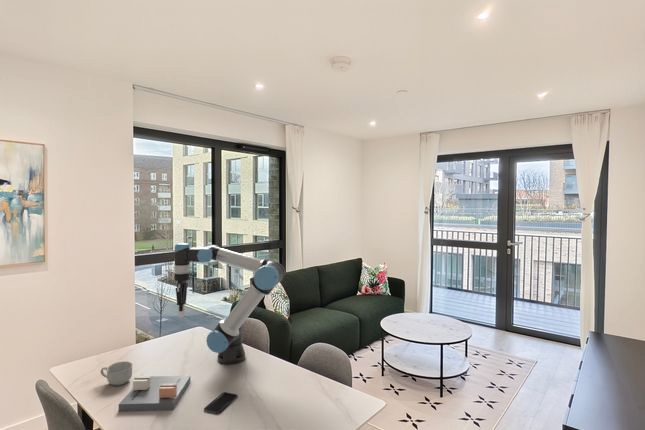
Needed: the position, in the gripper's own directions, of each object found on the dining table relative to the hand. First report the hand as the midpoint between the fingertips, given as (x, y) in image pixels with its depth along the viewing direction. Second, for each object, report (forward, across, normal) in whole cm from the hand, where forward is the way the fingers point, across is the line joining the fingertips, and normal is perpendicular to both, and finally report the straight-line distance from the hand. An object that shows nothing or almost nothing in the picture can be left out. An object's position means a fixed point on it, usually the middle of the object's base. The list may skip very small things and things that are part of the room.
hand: (181, 316), depth 189 cm
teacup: (+27, +17, -25) cm, 40 cm away
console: (+26, +30, -1) cm, 40 cm away
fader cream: (+23, +30, -8) cm, 38 cm away
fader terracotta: (+23, +37, +6) cm, 44 cm away
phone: (+27, +38, +29) cm, 55 cm away
